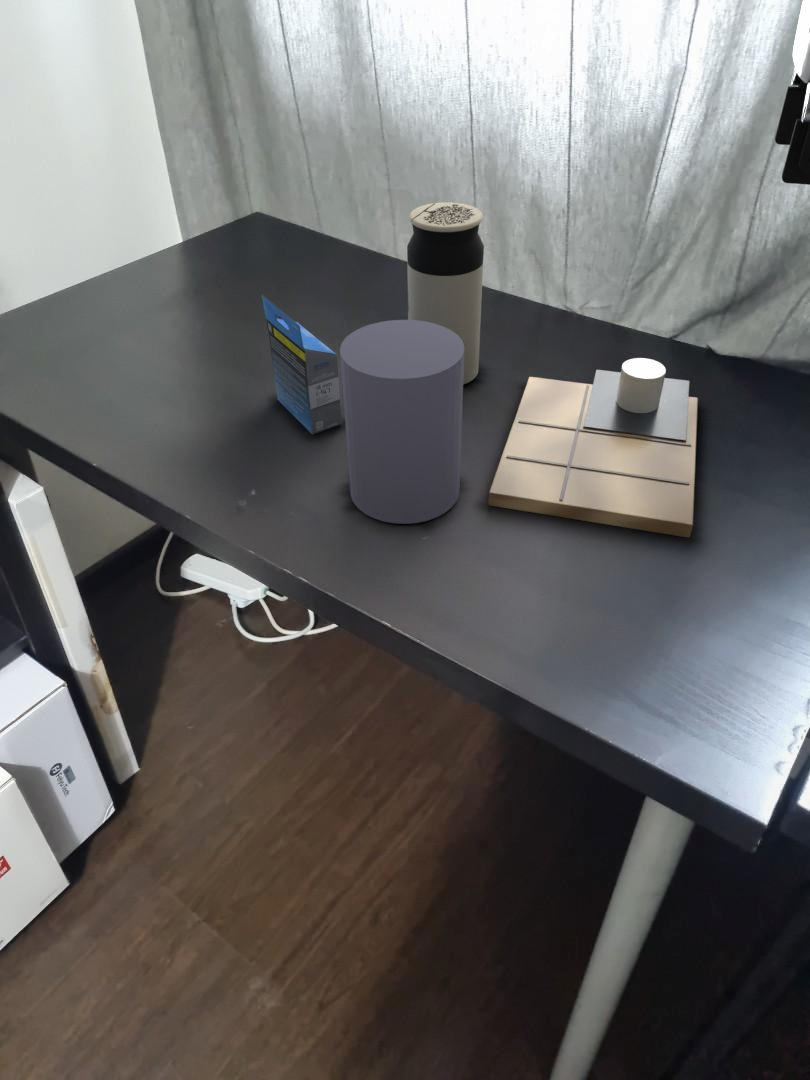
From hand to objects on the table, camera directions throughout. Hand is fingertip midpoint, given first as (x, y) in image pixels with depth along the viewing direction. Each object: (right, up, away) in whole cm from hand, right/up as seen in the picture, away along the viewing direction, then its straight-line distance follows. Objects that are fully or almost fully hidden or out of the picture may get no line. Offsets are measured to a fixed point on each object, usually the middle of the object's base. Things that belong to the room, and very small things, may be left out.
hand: (799, 162), depth 62 cm
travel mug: (-25, -9, +34) cm, 43 cm away
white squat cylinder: (-5, -14, +25) cm, 29 cm away
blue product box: (-40, -15, +28) cm, 51 cm away
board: (-10, -19, +22) cm, 30 cm away
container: (-29, -24, +17) cm, 41 cm away
